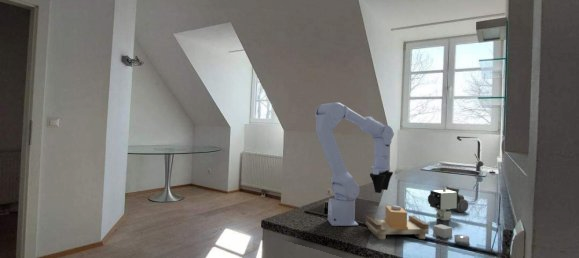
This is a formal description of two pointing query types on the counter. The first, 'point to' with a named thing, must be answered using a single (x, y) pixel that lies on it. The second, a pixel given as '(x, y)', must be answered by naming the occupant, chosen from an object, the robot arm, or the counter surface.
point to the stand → (383, 228)
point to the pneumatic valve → (443, 202)
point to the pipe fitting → (463, 203)
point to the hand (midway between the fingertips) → (381, 191)
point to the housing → (396, 217)
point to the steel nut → (461, 239)
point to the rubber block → (442, 231)
